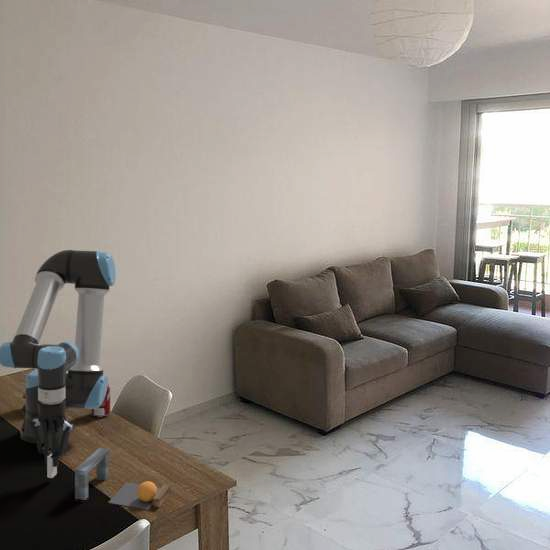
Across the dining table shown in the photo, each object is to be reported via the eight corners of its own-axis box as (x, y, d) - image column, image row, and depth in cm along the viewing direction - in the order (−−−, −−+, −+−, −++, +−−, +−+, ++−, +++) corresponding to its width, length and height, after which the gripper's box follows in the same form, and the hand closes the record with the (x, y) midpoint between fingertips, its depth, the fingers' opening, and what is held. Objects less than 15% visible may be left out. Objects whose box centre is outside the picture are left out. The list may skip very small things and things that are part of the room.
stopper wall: (152, 506, 173) (153, 498, 173) (163, 492, 181) (163, 484, 181) (159, 507, 173) (159, 499, 173) (170, 493, 181) (170, 485, 180)
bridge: (75, 499, 174) (75, 469, 173) (99, 476, 188) (99, 447, 187) (84, 501, 174) (85, 471, 172) (108, 477, 188) (109, 449, 186)
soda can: (104, 419, 230) (105, 388, 228) (88, 416, 231) (88, 386, 229) (113, 412, 236) (113, 382, 234) (96, 410, 238) (97, 380, 236)
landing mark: (108, 503, 174) (108, 502, 174) (126, 482, 185) (126, 482, 185) (148, 510, 172) (148, 509, 171) (164, 488, 183) (164, 488, 183)
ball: (139, 508, 174) (131, 491, 174) (147, 498, 179) (138, 481, 179) (156, 501, 173) (147, 484, 172) (163, 492, 178) (154, 475, 178)
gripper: (23, 401, 177) (24, 478, 181) (65, 407, 174) (65, 485, 178) (38, 392, 184) (39, 466, 188) (79, 398, 182) (78, 473, 186)
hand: (52, 475), depth 183 cm, fingers closed
